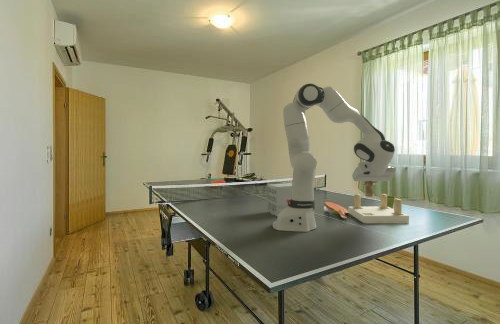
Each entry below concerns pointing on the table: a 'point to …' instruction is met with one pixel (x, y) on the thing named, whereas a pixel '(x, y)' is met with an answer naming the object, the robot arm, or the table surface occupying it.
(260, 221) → the table surface
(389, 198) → the plant pot
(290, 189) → the supplement box
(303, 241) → the table surface
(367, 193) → the stool leg
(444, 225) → the table surface
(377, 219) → the stool seat
